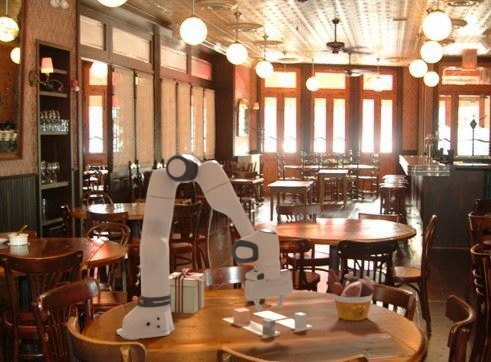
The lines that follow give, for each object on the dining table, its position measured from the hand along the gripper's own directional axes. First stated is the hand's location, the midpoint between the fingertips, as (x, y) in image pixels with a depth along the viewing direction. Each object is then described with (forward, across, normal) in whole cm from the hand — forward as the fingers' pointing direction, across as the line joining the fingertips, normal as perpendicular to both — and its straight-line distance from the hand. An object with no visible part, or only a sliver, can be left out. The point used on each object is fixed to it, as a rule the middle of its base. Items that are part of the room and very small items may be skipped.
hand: (269, 308), depth 252 cm
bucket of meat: (+12, -42, -2) cm, 44 cm away
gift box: (+10, +5, -56) cm, 57 cm away
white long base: (+10, +1, -13) cm, 17 cm away
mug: (+11, -28, -48) cm, 57 cm away
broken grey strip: (+11, -14, -13) cm, 22 cm away
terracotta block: (+9, +1, -19) cm, 21 cm away
